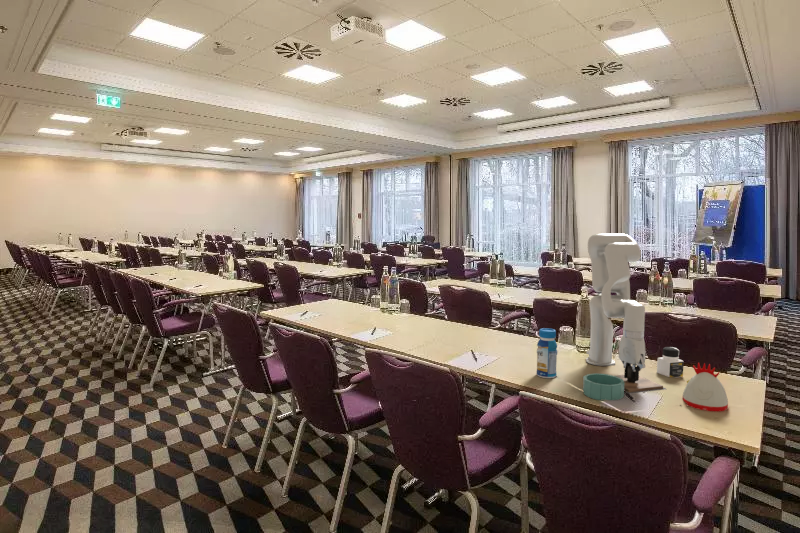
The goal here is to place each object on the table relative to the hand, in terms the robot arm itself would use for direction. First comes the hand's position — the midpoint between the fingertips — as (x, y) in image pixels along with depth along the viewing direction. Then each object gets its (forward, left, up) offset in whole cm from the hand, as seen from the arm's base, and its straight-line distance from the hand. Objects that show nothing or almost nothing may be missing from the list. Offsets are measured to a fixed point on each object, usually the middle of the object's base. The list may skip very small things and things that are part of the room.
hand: (631, 378), depth 196 cm
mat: (0, 0, -3) cm, 3 cm away
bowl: (+6, -18, -3) cm, 19 cm away
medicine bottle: (-6, +25, -3) cm, 26 cm away
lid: (0, 0, -2) cm, 2 cm away
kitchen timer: (+24, +11, -3) cm, 27 cm away
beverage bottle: (-20, -26, -3) cm, 33 cm away
